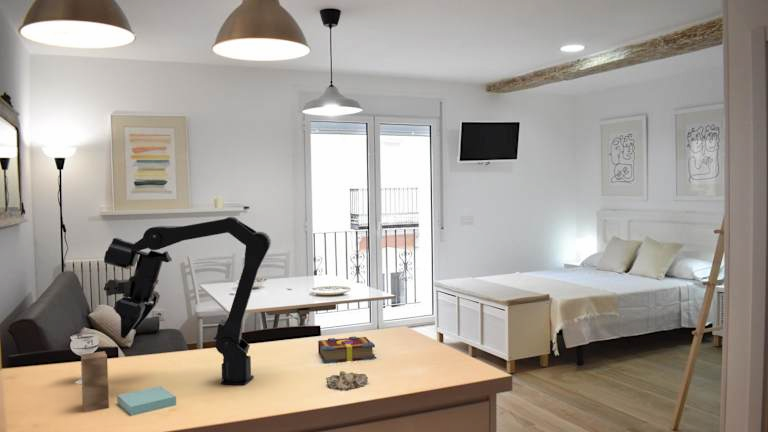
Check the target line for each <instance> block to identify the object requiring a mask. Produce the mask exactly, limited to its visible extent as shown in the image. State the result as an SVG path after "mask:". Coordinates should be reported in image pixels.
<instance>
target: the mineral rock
mask: <svg viewBox="0 0 768 432" xmlns="http://www.w3.org/2000/svg"><path fill="white" fill-rule="evenodd" d="M368 380H369V379H368V376H367V375H366V373H355V372H348V373H347V372H346V371H343V370H341V371H339V375H337V374H332V375H330V376H328V377H325V381H326V385H327V386H328V387H330V389H331V390H336V391H347V390H354V389H358V388H362V387H364V386H366V385H367V384H368Z"/></svg>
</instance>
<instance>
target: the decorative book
mask: <svg viewBox="0 0 768 432" xmlns="http://www.w3.org/2000/svg"><path fill="white" fill-rule="evenodd" d="M317 342H318V344H317V346H318V348H317V350H318V355H319V357H320V358H321V361H322V364H333V363H337V362H338V363H339V362H347V361H351V362H353V361H357V360H359V361H364V360H363V359H369V360H375V359H376V356H375V355H374V353H373V352H375V350H374V349H373V348H375V347H376V345H375V343H373V342H372V341H370V340H369V339H368V338H367V337H366V336H360V337H357V336H349V337H348V338H334V337H333V338H331V337H330V338H327V339H321V340H320V339H319V340H317ZM374 358H375V359H374Z"/></svg>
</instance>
